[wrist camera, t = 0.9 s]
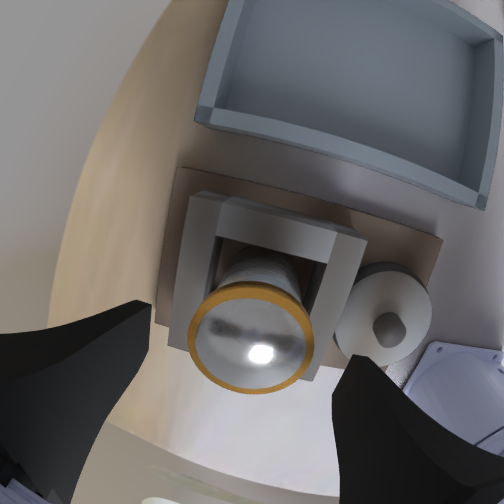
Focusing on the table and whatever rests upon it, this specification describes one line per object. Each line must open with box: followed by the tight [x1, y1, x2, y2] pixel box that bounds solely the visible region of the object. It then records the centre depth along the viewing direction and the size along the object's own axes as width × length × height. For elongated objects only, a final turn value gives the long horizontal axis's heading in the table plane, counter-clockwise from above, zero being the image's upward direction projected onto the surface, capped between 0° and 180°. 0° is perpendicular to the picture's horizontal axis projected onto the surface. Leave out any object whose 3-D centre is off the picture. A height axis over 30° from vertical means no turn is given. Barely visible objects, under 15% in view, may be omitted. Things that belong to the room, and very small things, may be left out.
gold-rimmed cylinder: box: [187, 245, 314, 394], centre depth 14 cm, size 5×5×7 cm
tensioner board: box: [155, 167, 443, 381], centre depth 16 cm, size 16×10×4 cm, turn 77°
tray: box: [194, 0, 504, 211], centre depth 13 cm, size 16×12×3 cm
